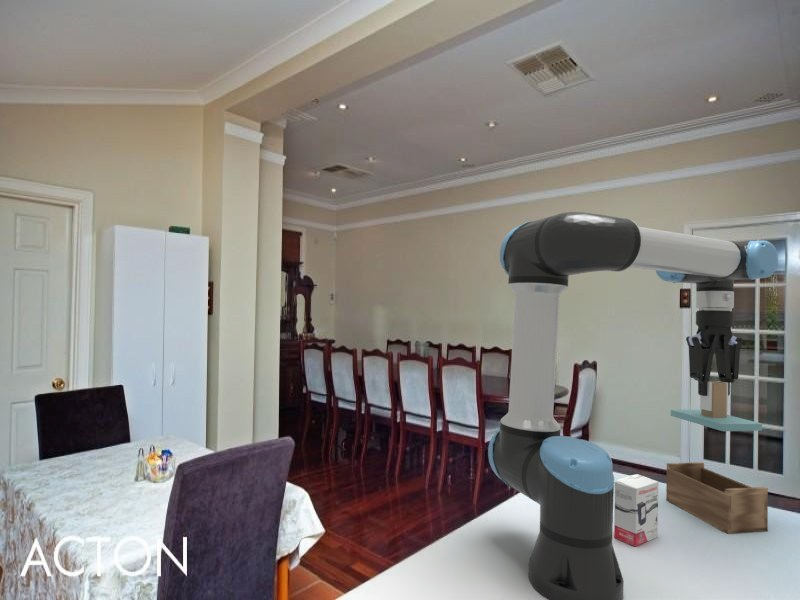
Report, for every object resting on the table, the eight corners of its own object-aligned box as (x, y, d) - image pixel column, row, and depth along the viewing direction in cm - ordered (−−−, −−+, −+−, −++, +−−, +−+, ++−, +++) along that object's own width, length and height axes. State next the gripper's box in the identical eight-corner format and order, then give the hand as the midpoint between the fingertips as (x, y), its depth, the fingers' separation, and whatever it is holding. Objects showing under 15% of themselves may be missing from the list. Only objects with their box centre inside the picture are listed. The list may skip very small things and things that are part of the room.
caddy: (727, 533, 101) (727, 490, 101) (666, 500, 119) (666, 463, 119) (767, 531, 103) (767, 488, 103) (701, 498, 121) (701, 462, 121)
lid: (722, 431, 103) (723, 387, 103) (670, 415, 118) (671, 377, 118) (762, 430, 105) (762, 387, 105) (705, 415, 120) (706, 377, 120)
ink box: (636, 547, 94) (636, 487, 94) (612, 537, 98) (613, 480, 99) (659, 537, 99) (659, 480, 99) (635, 528, 103) (636, 473, 103)
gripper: (696, 308, 107) (695, 413, 106) (759, 310, 110) (758, 412, 109) (671, 308, 114) (670, 406, 114) (731, 310, 117) (730, 406, 117)
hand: (713, 409), depth 112 cm, fingers closed on lid, 3 cm apart
